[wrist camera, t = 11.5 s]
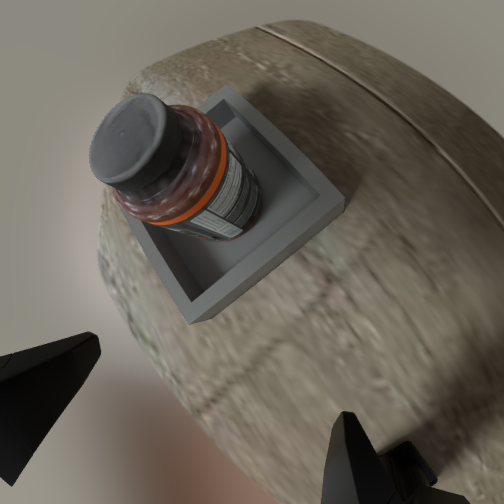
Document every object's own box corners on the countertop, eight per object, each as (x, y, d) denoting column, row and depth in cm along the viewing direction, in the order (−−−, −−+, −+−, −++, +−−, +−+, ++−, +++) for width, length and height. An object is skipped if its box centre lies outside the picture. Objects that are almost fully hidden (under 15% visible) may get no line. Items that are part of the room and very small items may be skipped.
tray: (343, 211, 19) (345, 197, 15) (211, 318, 21) (189, 324, 17) (241, 107, 22) (227, 83, 18) (137, 201, 24) (111, 191, 20)
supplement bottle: (174, 217, 21) (56, 171, 11) (216, 152, 21) (126, 64, 10) (234, 261, 20) (122, 237, 9) (282, 187, 19) (219, 88, 9)
